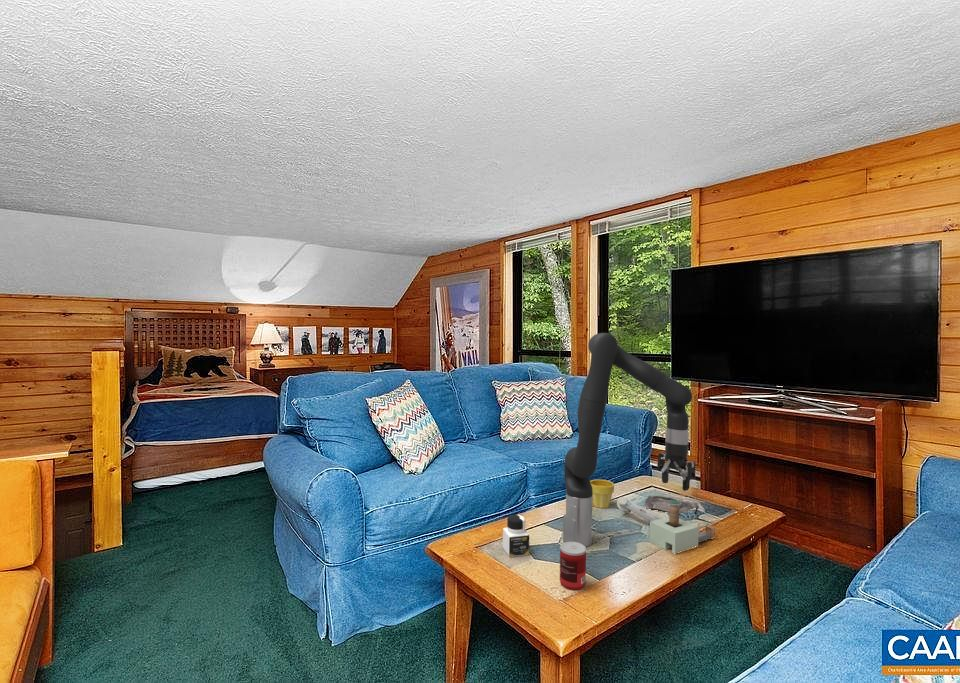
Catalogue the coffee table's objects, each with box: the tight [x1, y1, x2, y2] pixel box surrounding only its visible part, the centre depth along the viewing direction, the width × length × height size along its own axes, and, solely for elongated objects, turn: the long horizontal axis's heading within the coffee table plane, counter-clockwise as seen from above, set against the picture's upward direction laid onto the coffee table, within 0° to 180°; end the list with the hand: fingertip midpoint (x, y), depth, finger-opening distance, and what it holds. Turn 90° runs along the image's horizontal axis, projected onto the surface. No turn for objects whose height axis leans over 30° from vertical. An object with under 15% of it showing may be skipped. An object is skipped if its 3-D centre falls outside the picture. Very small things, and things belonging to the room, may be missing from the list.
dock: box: [648, 516, 700, 554], centre depth 172 cm, size 12×11×7 cm
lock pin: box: [698, 524, 716, 543], centre depth 175 cm, size 13×2×4 cm, turn 119°
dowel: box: [668, 506, 680, 528], centre depth 172 cm, size 3×3×10 cm
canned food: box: [559, 542, 587, 591], centre depth 145 cm, size 8×8×11 cm
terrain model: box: [643, 495, 699, 513], centre depth 208 cm, size 20×15×3 cm
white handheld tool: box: [616, 496, 664, 523], centre depth 190 cm, size 5×7×25 cm
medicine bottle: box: [502, 514, 530, 558], centre depth 165 cm, size 7×7×12 cm
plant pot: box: [590, 479, 615, 509], centre depth 209 cm, size 10×10×10 cm
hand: (675, 486), depth 171 cm, fingers open, 8 cm apart
